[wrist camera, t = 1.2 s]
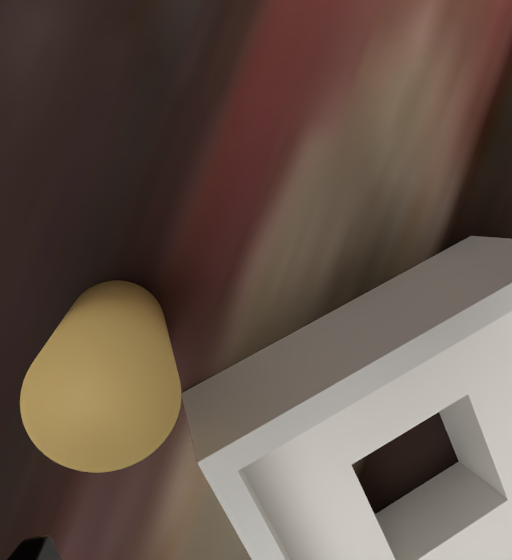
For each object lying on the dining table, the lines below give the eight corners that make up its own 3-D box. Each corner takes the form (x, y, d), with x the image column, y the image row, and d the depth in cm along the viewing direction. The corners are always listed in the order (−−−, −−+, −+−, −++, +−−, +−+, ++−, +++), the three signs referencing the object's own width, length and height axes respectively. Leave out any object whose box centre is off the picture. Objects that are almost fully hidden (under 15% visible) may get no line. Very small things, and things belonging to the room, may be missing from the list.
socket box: (318, 643, 25) (373, 775, 19) (181, 393, 21) (197, 462, 15) (556, 485, 27) (668, 559, 21) (471, 235, 23) (579, 244, 18)
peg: (96, 389, 20) (70, 499, 12) (48, 307, 19) (-13, 373, 11) (181, 344, 21) (206, 424, 13) (138, 263, 20) (137, 298, 12)
